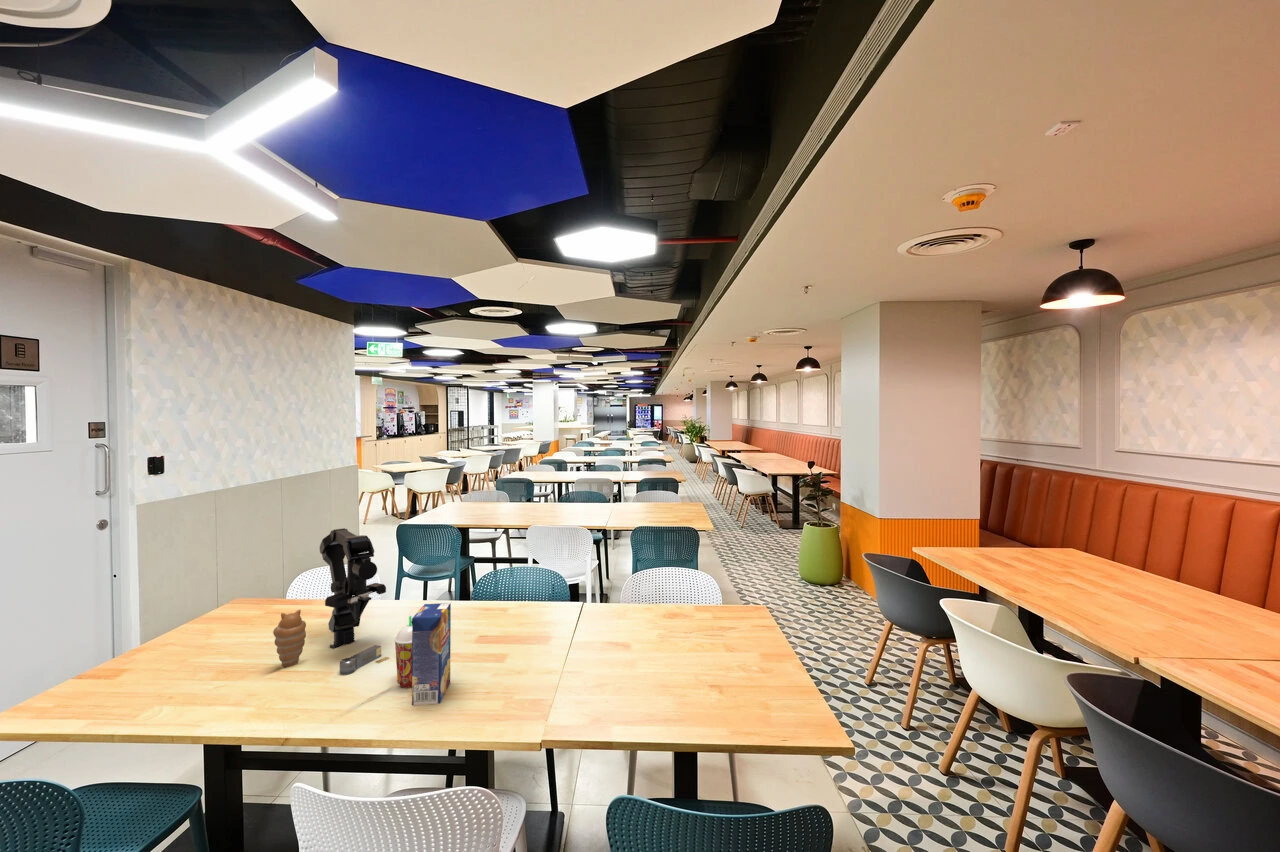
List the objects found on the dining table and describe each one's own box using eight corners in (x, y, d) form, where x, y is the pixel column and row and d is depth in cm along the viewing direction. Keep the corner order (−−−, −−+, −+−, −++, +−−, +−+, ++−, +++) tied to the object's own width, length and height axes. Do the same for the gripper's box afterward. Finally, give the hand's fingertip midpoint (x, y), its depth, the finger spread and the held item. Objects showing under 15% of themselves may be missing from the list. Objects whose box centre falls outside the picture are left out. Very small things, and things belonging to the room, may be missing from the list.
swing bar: (347, 675, 158) (347, 664, 158) (336, 673, 159) (336, 662, 159) (383, 656, 172) (383, 646, 172) (372, 654, 173) (372, 644, 173)
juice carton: (439, 703, 144) (440, 616, 145) (411, 705, 144) (412, 618, 144) (450, 683, 156) (450, 602, 157) (424, 684, 156) (424, 603, 156)
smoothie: (400, 677, 160) (401, 612, 160) (428, 676, 161) (428, 611, 161) (389, 690, 152) (390, 621, 152) (419, 689, 152) (419, 620, 153)
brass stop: (375, 664, 167) (375, 661, 167) (386, 659, 171) (386, 656, 171) (378, 665, 166) (378, 662, 166) (389, 660, 170) (389, 657, 170)
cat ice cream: (303, 660, 172) (303, 605, 173) (309, 667, 167) (309, 611, 167) (271, 668, 166) (271, 611, 166) (276, 676, 160) (276, 618, 161)
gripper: (365, 565, 188) (365, 608, 187) (314, 578, 171) (313, 625, 170) (387, 568, 183) (386, 613, 183) (336, 582, 166) (336, 631, 166)
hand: (356, 620), depth 175 cm, fingers closed
